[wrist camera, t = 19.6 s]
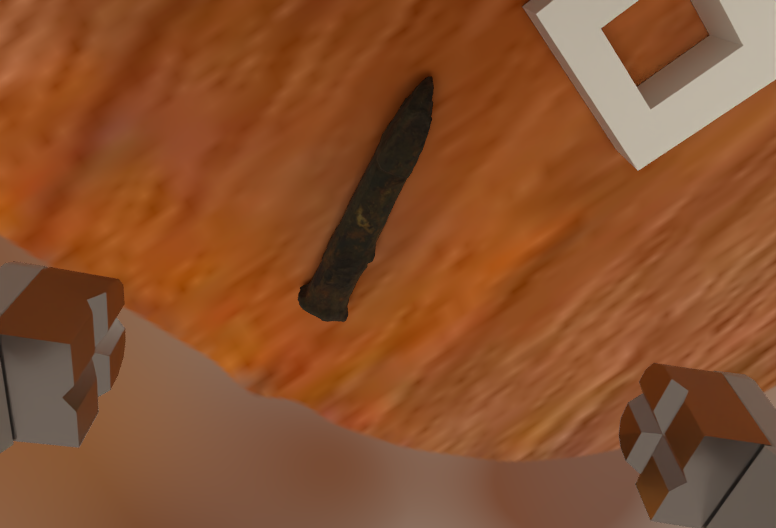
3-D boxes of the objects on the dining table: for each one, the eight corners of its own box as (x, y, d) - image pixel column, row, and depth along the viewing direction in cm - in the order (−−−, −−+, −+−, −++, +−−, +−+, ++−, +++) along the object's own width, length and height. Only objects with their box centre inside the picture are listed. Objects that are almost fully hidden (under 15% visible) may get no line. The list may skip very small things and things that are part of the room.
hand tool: (345, 305, 51) (341, 337, 47) (300, 285, 50) (291, 316, 46) (465, 93, 43) (472, 110, 39) (413, 66, 42) (415, 79, 38)
